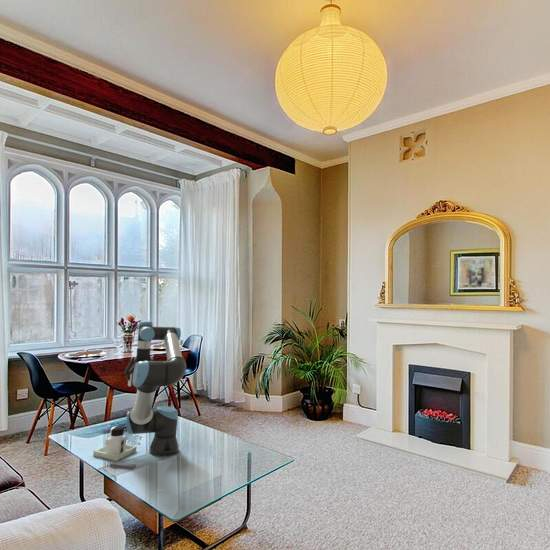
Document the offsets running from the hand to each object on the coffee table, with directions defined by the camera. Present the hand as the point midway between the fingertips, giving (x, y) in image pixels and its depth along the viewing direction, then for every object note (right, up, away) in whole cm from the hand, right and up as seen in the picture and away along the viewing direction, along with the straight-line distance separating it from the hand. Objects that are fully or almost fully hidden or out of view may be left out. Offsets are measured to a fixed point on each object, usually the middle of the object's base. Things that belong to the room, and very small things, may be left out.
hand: (140, 384), depth 236 cm
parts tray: (-7, -31, -21) cm, 38 cm away
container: (-7, -30, -21) cm, 37 cm away
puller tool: (+3, -31, -36) cm, 47 cm away
